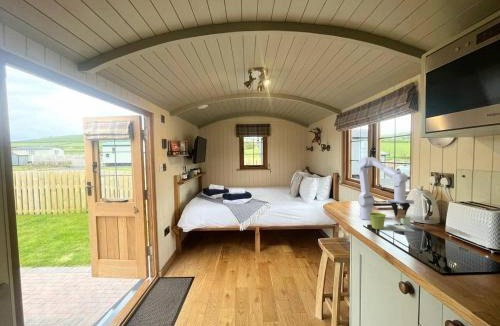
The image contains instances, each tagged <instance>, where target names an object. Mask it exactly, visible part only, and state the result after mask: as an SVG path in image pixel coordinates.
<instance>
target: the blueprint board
mask: <svg viewBox="0 0 500 326" xmlns="http://www.w3.org/2000/svg"><path fill="white" fill-rule="evenodd" d="M386 226H387V227H388V228H390V230H392V231H393V232H403V233H404V232H406V233H407V232H410V233H415V232H416V231H415V230H414V229H413V228H411V227H409V226H408V225H407V224H386Z"/></svg>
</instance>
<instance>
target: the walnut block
mask: <svg viewBox="0 0 500 326" xmlns="http://www.w3.org/2000/svg"><path fill="white" fill-rule="evenodd" d="M394 217H395V218H397V219H400V218H403V219H405V210H403V208H397V215H395V214H394Z"/></svg>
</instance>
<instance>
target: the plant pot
mask: <svg viewBox="0 0 500 326" xmlns="http://www.w3.org/2000/svg"><path fill="white" fill-rule="evenodd" d="M369 215H370V218H371V220H370V222H371V223H370V224H371V227H372V229H375V230H379V231H380V230H384V225H385V219H386V217H387V214H385V213H381V212H372V213H369Z"/></svg>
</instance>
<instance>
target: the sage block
mask: <svg viewBox="0 0 500 326" xmlns="http://www.w3.org/2000/svg"><path fill="white" fill-rule="evenodd" d="M399 219H400V223H401V225H411V216H409V215H407V214H406V216H405V219H403V218H399Z"/></svg>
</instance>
